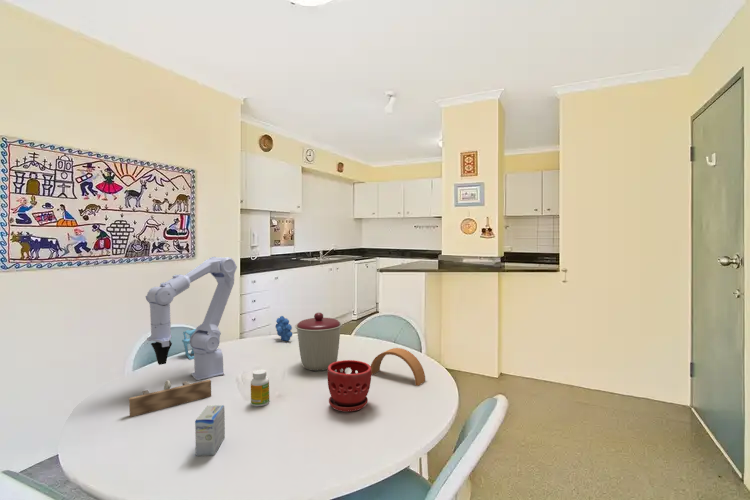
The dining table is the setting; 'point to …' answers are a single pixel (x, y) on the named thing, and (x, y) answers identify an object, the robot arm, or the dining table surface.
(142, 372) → the dining table surface
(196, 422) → the medicine box
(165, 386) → the pacifier
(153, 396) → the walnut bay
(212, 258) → the robot arm
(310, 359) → the canister
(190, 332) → the chair
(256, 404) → the supplement bottle
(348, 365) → the plant pot
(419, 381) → the arch
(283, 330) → the grapes
